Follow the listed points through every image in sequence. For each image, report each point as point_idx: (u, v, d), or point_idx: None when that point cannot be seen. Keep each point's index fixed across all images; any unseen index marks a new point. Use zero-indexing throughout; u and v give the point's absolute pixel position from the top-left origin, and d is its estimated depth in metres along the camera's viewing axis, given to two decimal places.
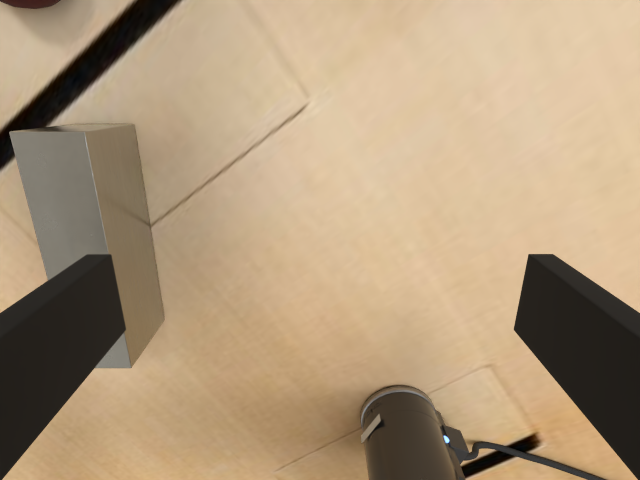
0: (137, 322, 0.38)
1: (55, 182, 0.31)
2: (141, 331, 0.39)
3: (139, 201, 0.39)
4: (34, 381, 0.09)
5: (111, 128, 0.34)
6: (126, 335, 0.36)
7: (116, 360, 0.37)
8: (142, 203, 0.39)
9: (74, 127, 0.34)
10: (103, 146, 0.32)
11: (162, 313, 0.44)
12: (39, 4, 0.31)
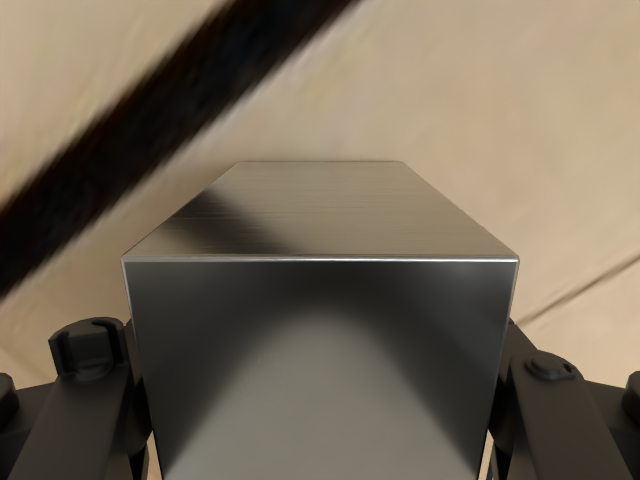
0: None
1: (307, 459, 0.07)
2: None
3: None
4: None
5: None
6: None
7: None
8: None
9: (306, 189, 0.09)
10: None
11: None
12: None
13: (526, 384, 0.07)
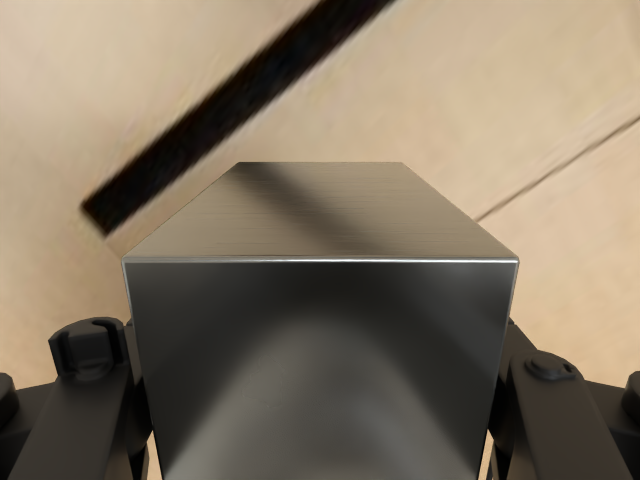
0: None
1: (306, 460, 0.07)
2: None
3: None
4: None
5: None
6: None
7: None
8: None
9: (306, 190, 0.09)
10: None
11: None
12: None
13: (526, 384, 0.07)
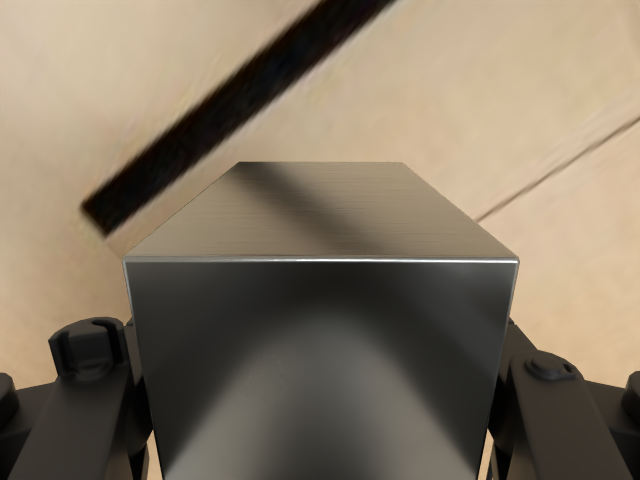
0: None
1: (307, 458, 0.07)
2: None
3: None
4: None
5: None
6: None
7: None
8: None
9: (307, 190, 0.09)
10: None
11: None
12: None
13: (526, 384, 0.07)
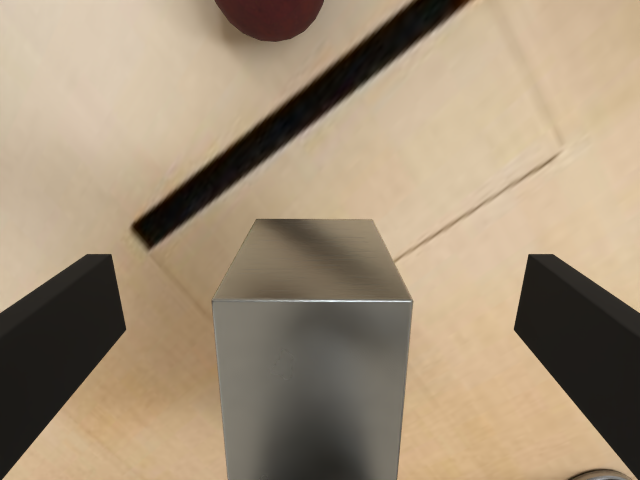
0: None
1: (305, 410, 0.12)
2: None
3: None
4: (34, 382, 0.09)
5: (387, 251, 0.15)
6: None
7: None
8: None
9: (305, 249, 0.15)
10: None
11: None
12: (290, 37, 0.24)
13: None
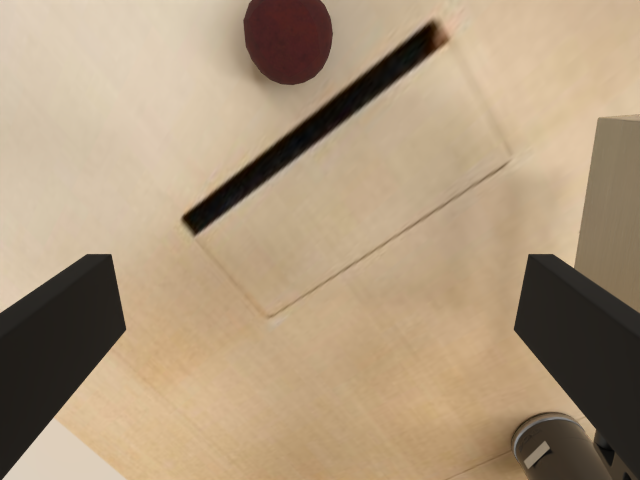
0: None
1: None
2: None
3: None
4: (34, 382, 0.09)
5: None
6: None
7: None
8: None
9: None
10: None
11: None
12: (304, 81, 0.34)
13: None
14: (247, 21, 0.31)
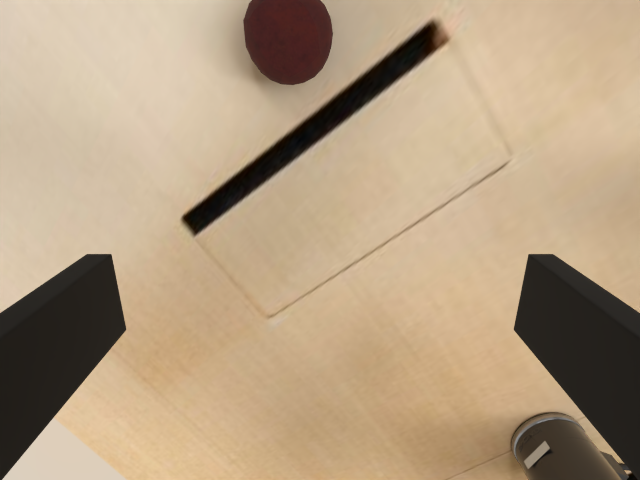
0: None
1: None
2: None
3: None
4: (34, 382, 0.09)
5: None
6: None
7: None
8: None
9: None
10: None
11: None
12: (304, 81, 0.34)
13: None
14: (247, 21, 0.31)
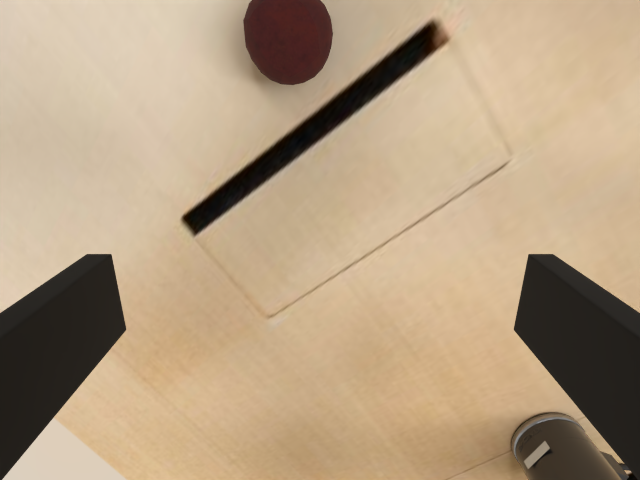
0: None
1: None
2: None
3: None
4: (34, 382, 0.09)
5: None
6: None
7: None
8: None
9: None
10: None
11: None
12: (304, 81, 0.34)
13: None
14: (247, 21, 0.31)
